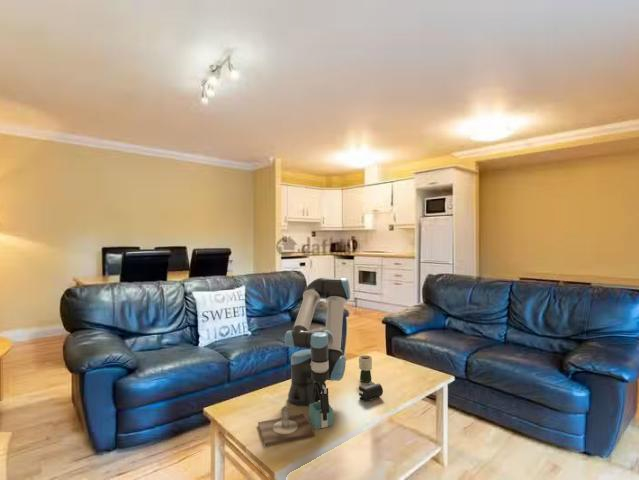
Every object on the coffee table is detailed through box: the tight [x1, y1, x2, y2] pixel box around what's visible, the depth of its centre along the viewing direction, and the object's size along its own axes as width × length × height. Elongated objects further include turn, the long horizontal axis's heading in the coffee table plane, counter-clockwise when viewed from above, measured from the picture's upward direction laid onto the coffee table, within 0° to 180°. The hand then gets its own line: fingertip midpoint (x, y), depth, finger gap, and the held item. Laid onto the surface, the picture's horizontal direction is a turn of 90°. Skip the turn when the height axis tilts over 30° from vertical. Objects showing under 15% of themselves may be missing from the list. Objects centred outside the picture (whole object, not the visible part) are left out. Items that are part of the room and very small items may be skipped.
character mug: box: [358, 354, 373, 383], centre depth 196 cm, size 11×7×13 cm, turn 137°
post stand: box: [257, 406, 315, 447], centre depth 148 cm, size 16×20×10 cm
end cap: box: [358, 381, 384, 403], centre depth 175 cm, size 10×7×7 cm
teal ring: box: [308, 402, 334, 430], centre depth 154 cm, size 8×8×7 cm
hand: (320, 421), depth 154 cm, fingers open, 8 cm apart
